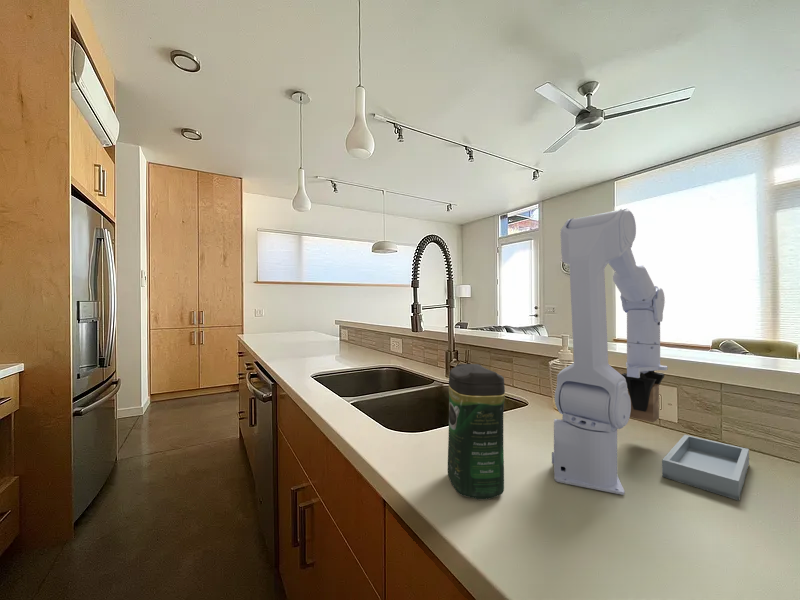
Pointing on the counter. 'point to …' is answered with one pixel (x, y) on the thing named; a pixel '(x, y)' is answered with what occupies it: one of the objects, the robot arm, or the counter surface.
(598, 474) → the robot arm
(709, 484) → the tray
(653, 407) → the walnut block
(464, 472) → the coffee jar
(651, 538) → the counter surface
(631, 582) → the counter surface
